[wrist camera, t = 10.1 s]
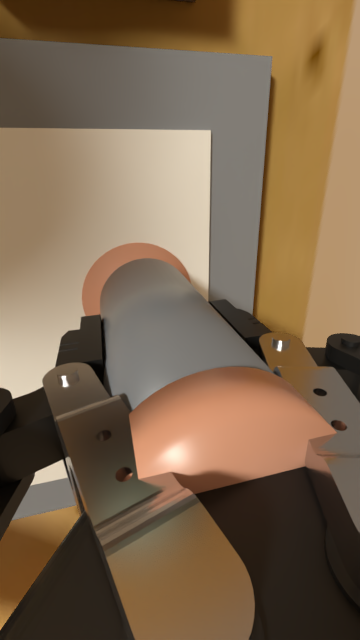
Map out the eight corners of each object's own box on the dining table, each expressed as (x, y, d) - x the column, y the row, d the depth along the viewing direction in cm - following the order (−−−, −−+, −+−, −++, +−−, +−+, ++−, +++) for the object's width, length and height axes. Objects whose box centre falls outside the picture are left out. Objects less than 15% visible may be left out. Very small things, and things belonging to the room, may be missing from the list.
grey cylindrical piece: (159, 359, 17) (250, 613, 7) (79, 319, 15) (49, 592, 5) (210, 288, 16) (399, 465, 6) (132, 235, 14) (221, 369, 4)
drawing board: (235, 457, 26) (242, 469, 25) (-37, 518, 22) (-44, 537, 21) (262, 63, 16) (275, 54, 14) (-255, 31, 11) (-295, 13, 10)
